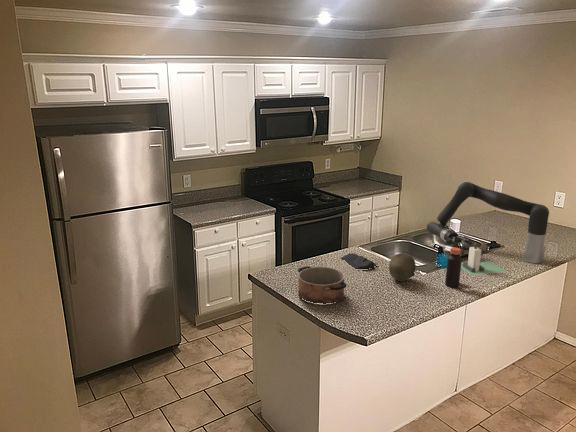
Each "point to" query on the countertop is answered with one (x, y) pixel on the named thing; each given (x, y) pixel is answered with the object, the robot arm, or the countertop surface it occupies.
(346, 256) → the dark blue flat piece
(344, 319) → the countertop surface
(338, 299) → the cooking pot
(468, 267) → the header
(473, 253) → the plug
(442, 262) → the gear
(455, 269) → the bottle
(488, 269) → the board
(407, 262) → the cantaloupe
